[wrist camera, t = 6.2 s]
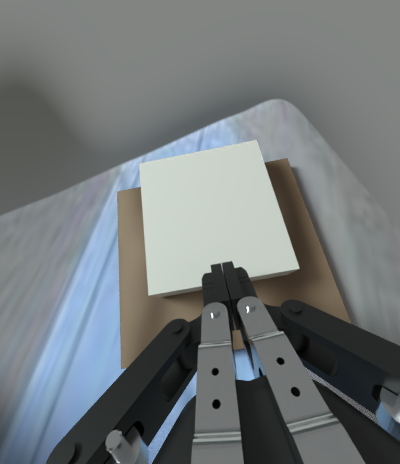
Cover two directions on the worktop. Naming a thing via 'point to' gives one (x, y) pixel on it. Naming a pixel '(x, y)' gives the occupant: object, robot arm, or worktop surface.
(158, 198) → the glazed tile
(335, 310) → the walnut board
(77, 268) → the worktop surface
